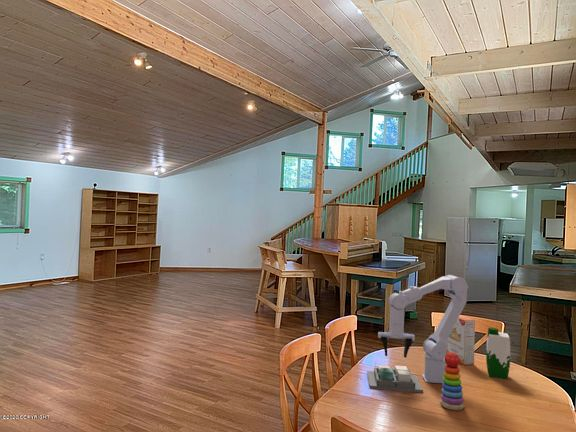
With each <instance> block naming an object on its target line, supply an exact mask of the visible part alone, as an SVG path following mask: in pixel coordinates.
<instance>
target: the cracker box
mask: <svg viewBox="0 0 576 432" xmlns="http://www.w3.org/2000/svg"><path fill="white" fill-rule="evenodd" d="M475 333H476V319H473V318H470V317H467V316H465V315H461V314H460V316H459V318H458V320H457V321H456V323H455V325H454V327H453V329H452V331H451V333H450V335H449V337H448V339H447V342H448V347H447V350H446V354H447V353H450V352H452V353H455V354H457V355H458V356H459V359H460V363H459V364H461V365H463V366H468V365H469V366H471V365H475V342H476V341H475V338H476V337H475V336H476V334H475Z"/></svg>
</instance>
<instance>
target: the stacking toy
mask: <svg viewBox="0 0 576 432" xmlns="http://www.w3.org/2000/svg"><path fill="white" fill-rule="evenodd" d="M444 359H445V363H446V364H447V365H446V366H445V368H444V369H445V372H444V378H443V383H441V384H442V388H441V394H440V400H439V404H440V405H441V406H442V408H445V409H447V410H451V411H462V410H463V409H465V408H464V407H465V404H464V397H463V396H464V394H463V393H464V392H463V391H462V390H463V386H462V380H461V374H460V371H461V370H460V368H459V365H460V364H461V363H460V359H459V356H458V355H457V354H455V353H452V352H450V353H447V354H446V355H445V358H444Z"/></svg>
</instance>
